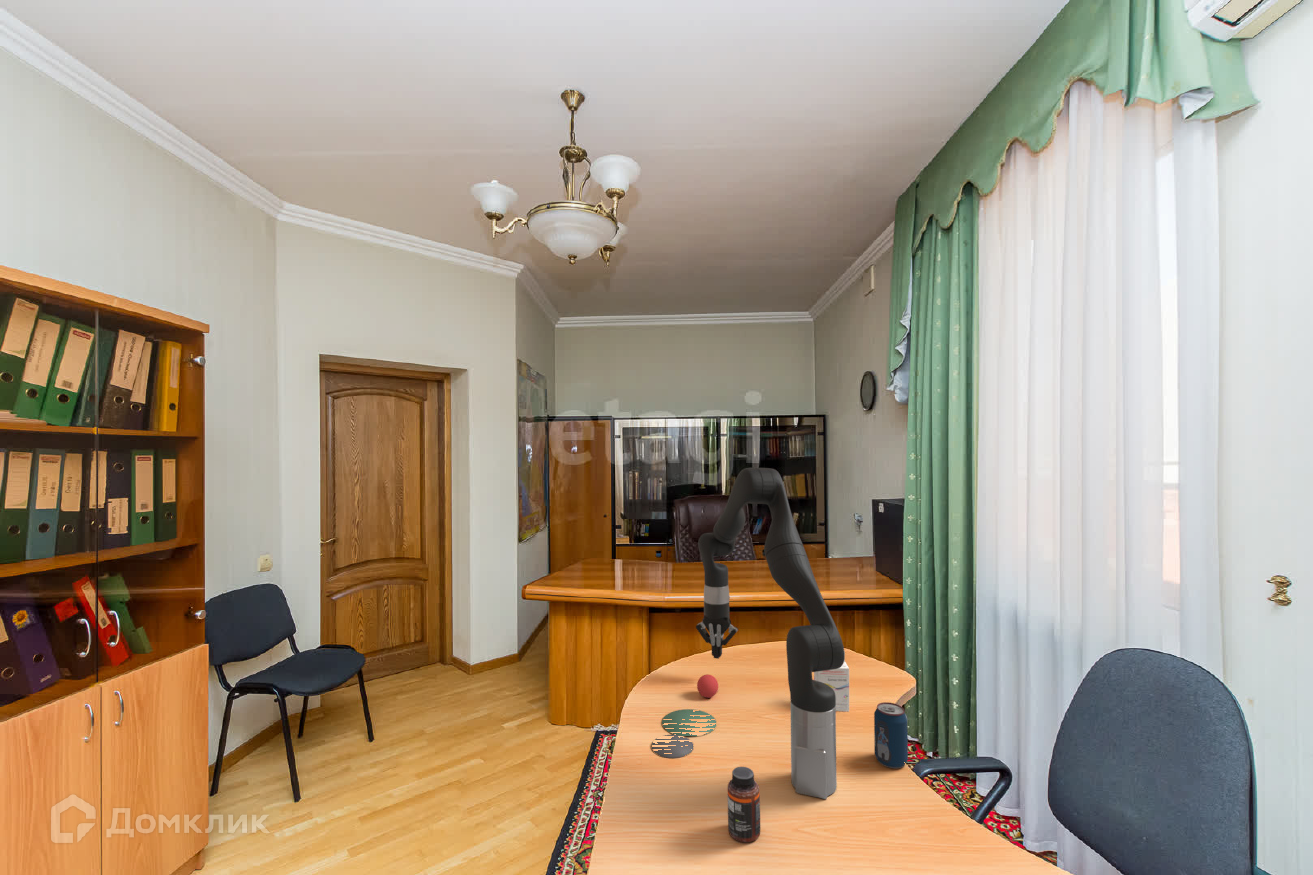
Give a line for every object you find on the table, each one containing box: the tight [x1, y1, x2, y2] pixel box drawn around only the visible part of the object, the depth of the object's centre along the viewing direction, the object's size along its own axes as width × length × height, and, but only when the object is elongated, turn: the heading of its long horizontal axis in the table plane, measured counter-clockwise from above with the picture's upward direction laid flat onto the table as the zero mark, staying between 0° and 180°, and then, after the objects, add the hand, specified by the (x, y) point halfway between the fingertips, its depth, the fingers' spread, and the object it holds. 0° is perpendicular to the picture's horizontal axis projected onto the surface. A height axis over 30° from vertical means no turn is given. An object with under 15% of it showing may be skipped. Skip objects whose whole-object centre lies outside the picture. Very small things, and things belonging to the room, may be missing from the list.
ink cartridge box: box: [813, 650, 850, 712], centre depth 156 cm, size 9×5×15 cm, turn 84°
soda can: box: [873, 701, 909, 769], centre depth 130 cm, size 7×7×12 cm
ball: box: [696, 674, 719, 699], centre depth 163 cm, size 6×6×6 cm
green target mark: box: [661, 708, 717, 736], centre depth 148 cm, size 14×14×1 cm
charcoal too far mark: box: [651, 734, 694, 759], centre depth 137 cm, size 10×10×1 cm
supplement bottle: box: [726, 766, 761, 843], centre depth 107 cm, size 6×6×11 cm
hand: (717, 657), depth 172 cm, fingers closed
